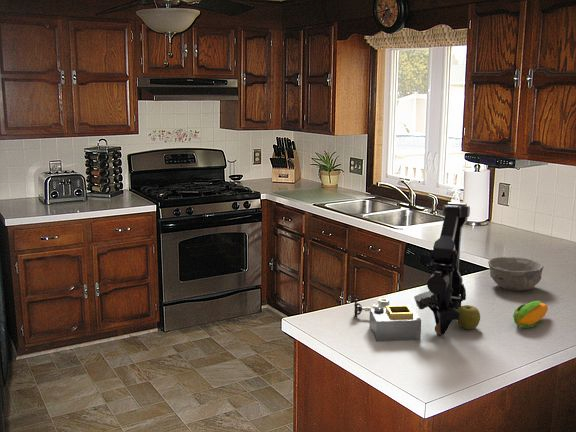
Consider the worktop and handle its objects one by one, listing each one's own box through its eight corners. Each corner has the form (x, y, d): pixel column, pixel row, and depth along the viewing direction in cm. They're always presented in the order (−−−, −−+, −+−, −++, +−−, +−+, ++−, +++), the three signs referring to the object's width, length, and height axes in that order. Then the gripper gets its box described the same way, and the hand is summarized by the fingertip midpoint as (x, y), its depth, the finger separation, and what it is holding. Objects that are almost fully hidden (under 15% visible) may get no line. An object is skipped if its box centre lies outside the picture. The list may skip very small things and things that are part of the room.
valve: (388, 315, 218) (354, 314, 220) (389, 297, 217) (354, 296, 218) (390, 321, 212) (354, 320, 213) (390, 303, 211) (354, 302, 212)
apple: (469, 322, 211) (470, 301, 209) (484, 330, 203) (486, 309, 202) (450, 325, 208) (451, 304, 206) (465, 333, 201) (466, 312, 199)
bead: (444, 332, 202) (445, 321, 201) (448, 336, 198) (448, 325, 198) (433, 332, 202) (433, 321, 201) (436, 337, 198) (436, 325, 197)
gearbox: (411, 326, 208) (411, 302, 206) (420, 340, 196) (421, 315, 194) (369, 327, 207) (369, 303, 205) (376, 341, 195) (376, 316, 194)
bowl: (475, 284, 251) (476, 260, 249) (514, 277, 260) (515, 254, 258) (513, 299, 233) (515, 273, 231) (554, 291, 241) (555, 266, 239)
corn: (508, 305, 203) (535, 291, 217) (505, 327, 205) (532, 312, 219) (530, 312, 198) (557, 298, 212) (527, 335, 200) (553, 318, 214)
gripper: (409, 276, 206) (408, 321, 209) (425, 294, 187) (423, 343, 190) (443, 275, 206) (441, 320, 209) (461, 293, 188) (459, 342, 191)
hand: (440, 331), depth 200 cm, fingers open, 4 cm apart
